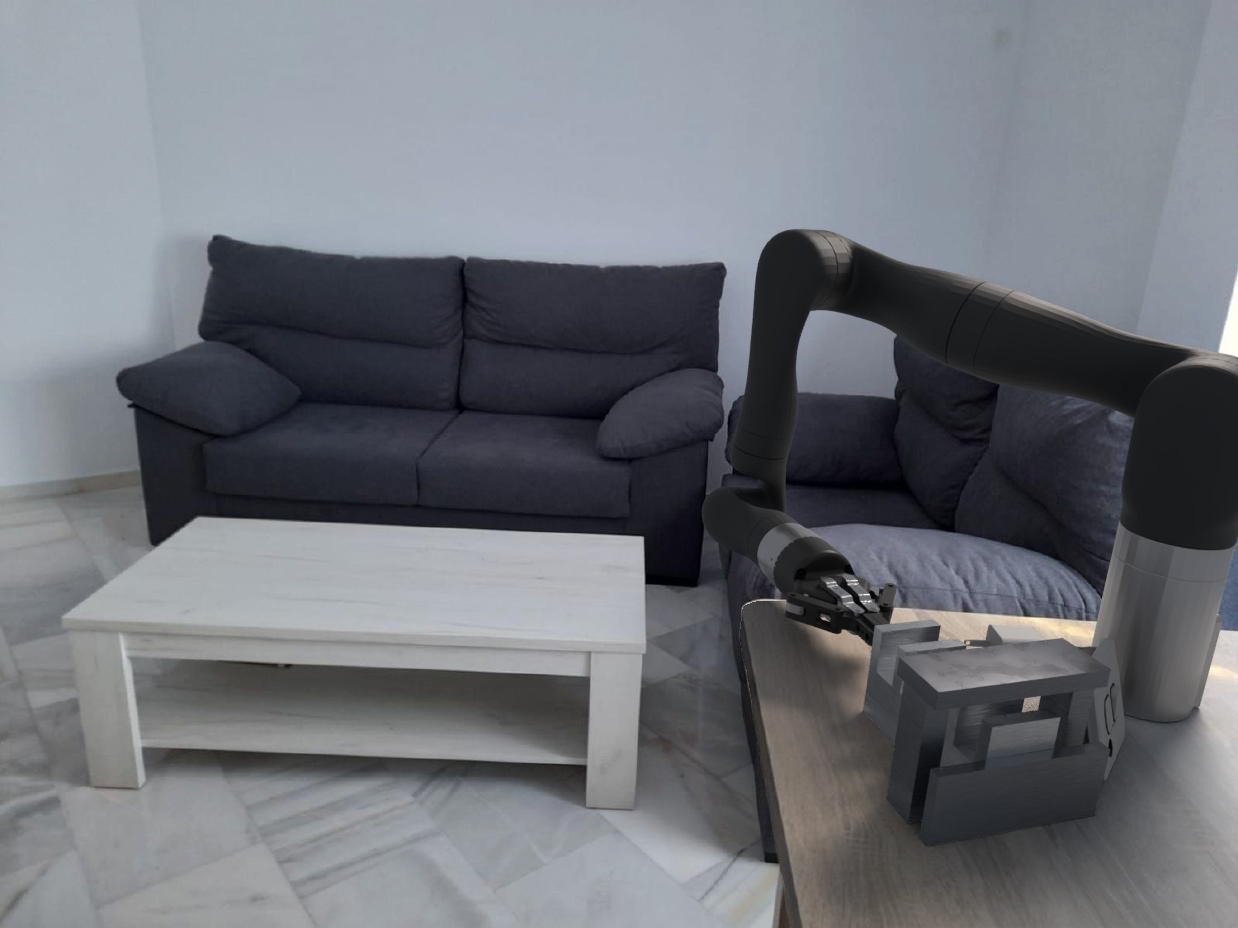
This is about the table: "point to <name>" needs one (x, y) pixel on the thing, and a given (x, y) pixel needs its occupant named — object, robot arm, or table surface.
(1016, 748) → the heatsink block
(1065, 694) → the grey open box frame
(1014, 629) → the usb wall charger
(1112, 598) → the robot arm
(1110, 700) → the electrical switch
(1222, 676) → the table surface
